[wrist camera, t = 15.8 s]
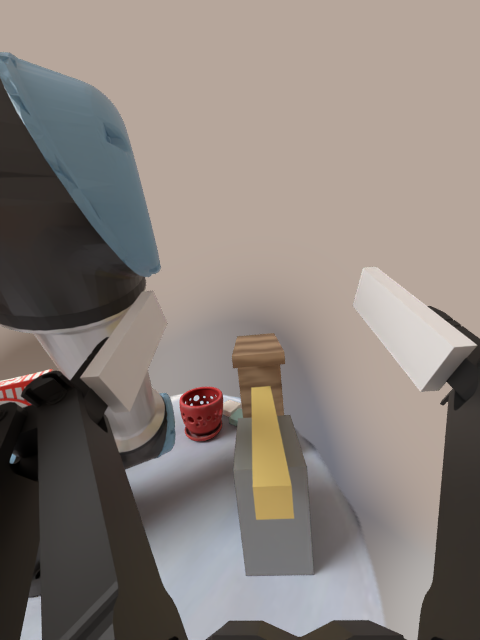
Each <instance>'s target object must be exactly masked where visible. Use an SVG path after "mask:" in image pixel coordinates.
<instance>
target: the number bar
mask: <svg viewBox="0 0 480 640" xmlns="http://www.w3.org/2000/svg"><path fill="white" fill-rule="evenodd" d="M251 401H252V474H253V495H254V504H255V513H256V520H266V519H294V511H293V498H292V485H291V480H290V476H289V471H288V466H287V462H286V457H285V452H284V448H283V443H282V438H281V434H280V429H279V424H278V419H277V415H276V410H275V405H274V401H273V396H272V391H271V387H270V386H266V387H252V388H251Z"/></svg>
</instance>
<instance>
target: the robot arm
mask: <svg viewBox="0 0 480 640" xmlns="http://www.w3.org/2000/svg"><path fill="white" fill-rule="evenodd" d="M160 269H161V266H160V261H159V256H158V250H157V246H156V242H155V238H154V234H153V230H152V225H151V221H150V217H149V213H148V209H147V205H146V201H145V197H144V194H143V189H142V186H141V182H140V178H139V174H138V170H137V166H136V162H135V159H134V155H133V151H132V148H131V144H130V141H129V137H128V134H127V130H126V127H125V125H124V122H123V120H122V118H121V116H120V114H119V112H118V110H117V109H116V107H115V106H114V105H113V103H112V102H111V101H110V100H109V99H108V98H107V97H106V96H105V95H104V94H103V93H102V92H100V91H99V90H98V89H96V88H95V87H93V86H92V85H90V84H88V83H85V82H83V81H80V80H77V79H75V78H72V77H69V76H66V75H63V74H61V73H58V72H54V71H52V70H49V69H46V68H43V67H41V66H38V65H35V64H32V63H29V62H27V61H24V60H21V59H18V58H17V57H15V56H14V55H12V54H11V53H7V52H0V326H2V327H4V328H7V329H11V330H15V331H19V332H26V333H33V334H34V335H35V337H36V338H37V339H38V341H39V342H40V344H41V345H42V346H43V348H44V349H45V351H46V352H47V353H48V355H49V356H50V357H51V359H52V360H53V362H54V363H55V365H56V366H57V367H58V369H59V370H60V371H51V372H48V373H45V374H43V375H41V376H39V377H37V378H36V379H34V380H33V381H32V382H30V383H29V384H28V385H27V386H26V387H25V388H24V390H23V391H22V394H21V397H22V398H24V399H25V400H27V401H28V402H29V403H31V404H32V405H29V406H26V407H23V408H22V407H21V406H19V405H18V404H16V403H15V402H8V403H4V404H2V405H0V640H20V636H21V631H22V626H23V621H24V617H25V612H26V607H27V602H28V597H34V596H38V595H41V616H42V640H188V638H187V635H186V633H185V630H184V627H183V624H182V621H181V618H180V615H179V613H178V610H177V608H176V606H175V604H174V602H173V600H172V598H171V597H170V595H169V594H168V593H167V591H166V590H165V588H164V586H163V584H162V581H161V578H160V575H159V572H158V569H157V566H156V563H155V560H154V557H153V554H152V551H151V548H150V545H149V542H148V539H147V536H146V533H145V530H144V527H143V524H142V521H141V518H140V514H139V511H138V508H137V505H136V502H135V499H134V496H133V493H132V490H131V487H130V484H129V481H128V478H127V475H126V472H125V469H128V468H130V467H133V466H136V465H138V464H141V463H143V462H146V461H148V460H151V459H153V458H154V459H155V458H159V457H160V456H161V455H163V454H165V453H167V452H169V451H170V450H171V449H172V448H173V446H174V444H175V429H174V428H175V419H174V412H173V407H172V402H171V399H170V397H169V396H168V394H166V393H158V392H157V391H156V390H154V389H153V388H152V387H151V382H150V377H149V373H148V368H149V366H150V363H151V361H152V358H153V356H154V354H155V352H156V349H157V347H158V344H159V342H160V340H161V337H162V335H163V333H164V330H165V328H166V326H167V321H166V319H165V316H164V314H163V312H162V309H161V307H160V305H159V303H158V301H157V298H156V296H155V293H154V291H145V289H146V280H145V277H150V276H151V275H152V274H156V273H158V272H159V271H160ZM353 307H354V308H355V309H356V310H357V312H358V313H359V314H360V315H361V317H362V318H363V319H364V320H365V322H366V323H367V324H368V325H369V327H370V328H371V329H372V331H373V332H374V333H375V335H376V336H377V337H378V338H379V340H380V341H381V342H382V343H383V345H384V346H385V347H386V348H387V350H388V351H389V352H390V354H391V355H392V356H393V357H394V359H395V360H396V361H397V362H398V364H399V365H400V366H401V368H402V369H403V370H404V371H405V373H406V374H407V375H408V376H409V378H410V379H411V380H412V381H413V383H414V384H415V385H416V387H417V388H418V389H419V390H420V391H421V392H423V391H437V390H440V389H441V388H442V386H443V385H444V384H445V383H446V382H448V384H449V385H450V386H451V387H452V388H453V389H452V390H451V391H450V392H449V393H448V395H447V396H446V397H445V398H444V399H443V400H442V401H441V403H440V404H441V405H444V404H445V403H446V402H448V412H447V424H446V435H445V447H444V459H443V471H442V482H441V494H440V506H439V517H438V529H437V540H436V552H435V564H434V575H433V582H432V585H431V587H430V589H429V591H428V592H427V594H426V595H425V597H424V600H423V603H422V608H421V614H420V623H419V631H418V640H480V339H479V338H478V337H477V336H475V335H474V334H472V333H471V332H470V331H468V330H467V329H466V328H464V327H463V326H462V327H461V325H460V324H459V323H458V322H456V321H455V320H453V319H452V318H451V317H450V316H448V315H447V314H446V313H444V312H442V311H440V310H438V309H436V308H434V307H431V306H426V305H425V304H424V303H422V302H421V301H420V300H418V299H417V298H416V297H415V296H413V295H412V294H411V293H409V292H408V291H407V290H405V289H404V288H403V287H402V286H400V285H399V284H398V283H396V282H395V281H394V280H392V279H391V278H390V277H388V276H387V275H386V274H385V273H384V272H382V271H381V270H379V269H378V268H377V267H369V268H363V270H362V274H361V278H360V281H359V285H358V288H357V292H356V296H355V300H354V303H353ZM206 640H406V639H404V637H403V635H401V634H399V633H397V632H394V631H392V630H390V629H387V628H385V627H383V626H381V625H378V624H376V623H374V622H371V621H369V620H333V621H331V622H330V623H328V624H326V625H324V626H322V627H320V628H318V629H316V630H314V631H312V632H310V633H308V634H306V635H304V636H302V637H297V636H295V635H292V634H290V633H288V632H286V631H284V630H282V629H279V628H277V627H275V626H273V625H271V624H268V623H266V622H264V621H228V622H227V623H226V624H225V625H224V626H223V627H221V628H220V629H219V630H218V631H216V632H215V633H213V634H212V635H211V636H210V637H208V638H207V639H206Z"/></svg>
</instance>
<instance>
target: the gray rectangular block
mask: <svg viewBox="0 0 480 640" xmlns="http://www.w3.org/2000/svg"><path fill="white" fill-rule="evenodd" d="M277 419H278V424H279V429H280V434H281V438H282V443H283V448H284V452H285V457H286V462H287V466H288V471H289V476H290V480H291V485H292V498H293V511H294V519H266V520H256V513H255V504H254V495H253V474H252V417H251V418H238V423H237V434H236V445H235V456H234V466H233V473H234V481H235V489H236V497H237V506H238V514H239V522H240V530H241V539H242V547H243V555H244V563H245V572H246V576H271V575H314V571H313V556H312V541H311V525H310V510H309V494H308V479H307V466H306V463H305V460H304V456H303V453H302V450H301V447H300V444H299V441H298V438H297V435H296V432H295V428H294V425H293V422H292V419H291V416H290V415H282V416H277Z"/></svg>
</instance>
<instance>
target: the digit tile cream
mask: <svg viewBox="0 0 480 640" xmlns="http://www.w3.org/2000/svg"><path fill="white" fill-rule="evenodd" d="M239 408H240V409H242V406H241V403H238V402H234V401H231V400H228V401H226V402H225V403H224V404H223V415H225V416H228V417H230V416H231V415H232V414H233V413H234V412H235V411H236V410H238V409H239Z"/></svg>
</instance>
